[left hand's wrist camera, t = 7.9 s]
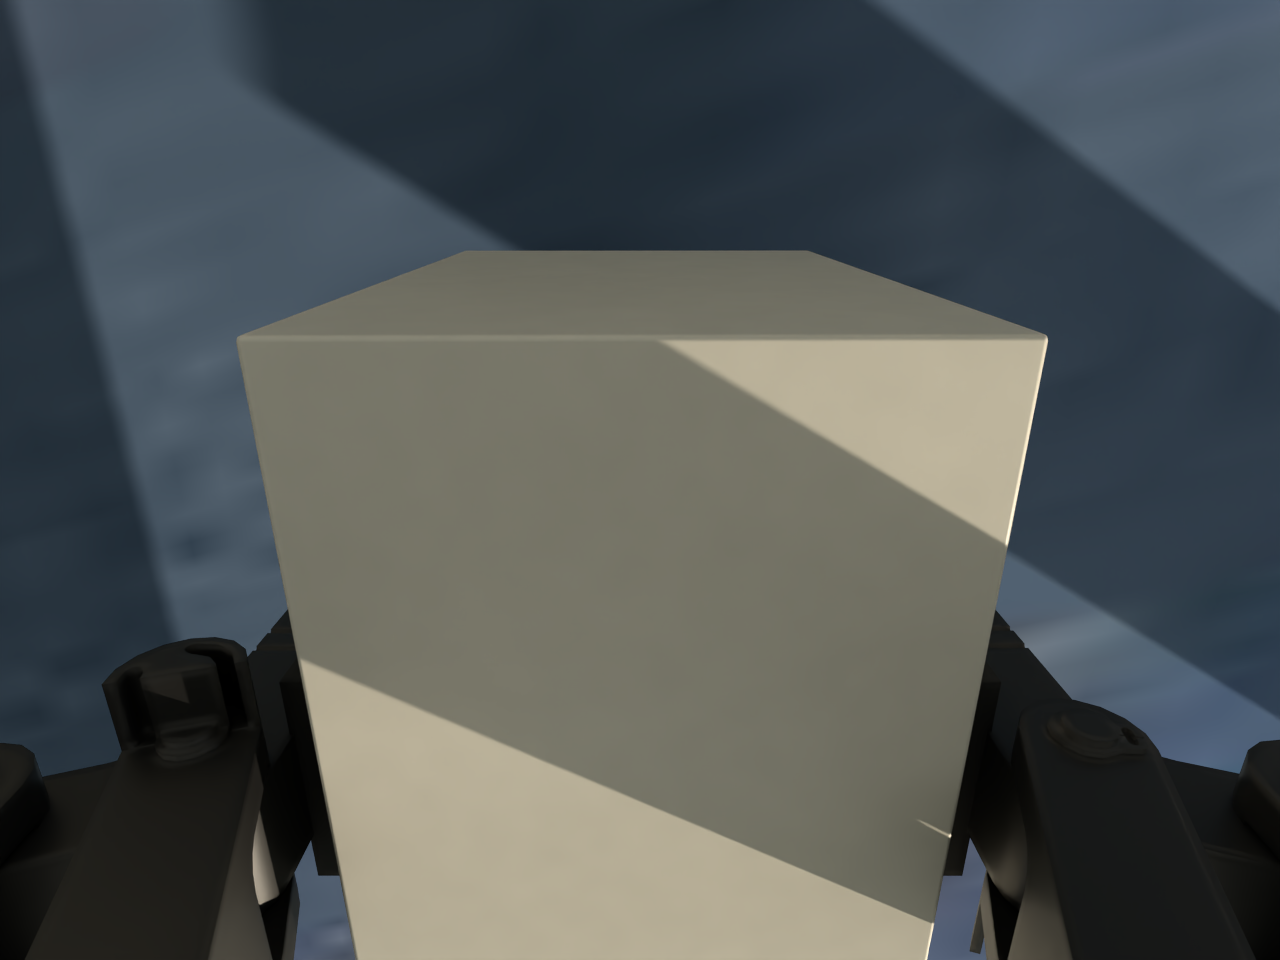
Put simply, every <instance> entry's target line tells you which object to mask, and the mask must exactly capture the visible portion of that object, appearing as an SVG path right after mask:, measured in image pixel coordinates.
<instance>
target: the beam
mask: <svg viewBox="0 0 1280 960" xmlns="http://www.w3.org/2000/svg"><path fill="white" fill-rule="evenodd" d="M236 343H237V348H238V353H239V359H240V364H241V369H242V374H243V379H244V384H245V390H246V395H247V400H248V405H249V410H250V415H251V421H252V426H253V431H254V436H255V441H256V446H257V452H258V457H259V462H260V467H261V472H262V477H263V483H264V488H265V493H266V498H267V503H268V508H269V514H270V519H271V524H272V529H273V534H274V539H275V545H276V550H277V555H278V560H279V565H280V570H281V576H282V581H283V586H284V591H285V596H286V601H287V607H288V612H289V617H290V622H291V627H292V632H293V638H294V643H295V648H296V653H297V658H298V663H299V669H300V674H301V679H302V684H303V689H304V694H305V700H306V705H307V710H308V715H309V720H310V725H311V731H312V736H313V741H314V746H315V751H316V756H317V762H318V767H319V772H320V777H321V782H322V787H323V793H324V798H325V803H326V808H327V813H328V818H329V824H330V829H331V834H332V839H333V844H334V849H335V855H336V860H337V865H338V870H339V875H340V880H341V886H342V891H343V896H344V901H345V906H346V911H347V917H348V922H349V927H350V932H351V937H352V942H353V948H354V953H355V958H356V960H927V956H928V951H929V946H930V941H931V936H932V930H933V925H934V920H935V915H936V910H937V905H938V900H939V895H940V890H941V884H942V879H943V874H944V869H945V864H946V859H947V854H948V849H949V844H950V838H951V833H952V828H953V823H954V818H955V813H956V808H957V803H958V798H959V792H960V787H961V782H962V777H963V772H964V767H965V762H966V757H967V752H968V746H969V741H970V736H971V731H972V726H973V721H974V716H975V711H976V706H977V700H978V695H979V690H980V685H981V680H982V675H983V670H984V665H985V660H986V655H987V649H988V644H989V639H990V634H991V629H992V624H993V619H994V614H995V609H996V603H997V598H998V593H999V588H1000V583H1001V578H1002V573H1003V568H1004V563H1005V557H1006V552H1007V547H1008V542H1009V537H1010V532H1011V527H1012V522H1013V517H1014V511H1015V506H1016V501H1017V496H1018V491H1019V486H1020V481H1021V476H1022V471H1023V465H1024V460H1025V455H1026V450H1027V445H1028V440H1029V435H1030V430H1031V425H1032V419H1033V414H1034V409H1035V404H1036V399H1037V394H1038V389H1039V384H1040V379H1041V373H1042V368H1043V363H1044V358H1045V353H1046V348H1047V343H1048V339H1047V336H1046V335H1045V334H1042V333H1040V332H1037V331H1034V330H1031V329H1028V328H1026V327H1023V326H1020V325H1017V324H1014V323H1011V322H1009V321H1006V320H1003V319H1000V318H997V317H994V316H991V315H989V314H986V313H983V312H980V311H977V310H974V309H972V308H969V307H966V306H963V305H960V304H957V303H955V302H952V301H949V300H946V299H943V298H940V297H938V296H935V295H932V294H929V293H926V292H923V291H921V290H918V289H915V288H912V287H909V286H906V285H904V284H901V283H898V282H895V281H892V280H889V279H887V278H884V277H881V276H878V275H875V274H872V273H870V272H867V271H864V270H861V269H858V268H855V267H853V266H850V265H847V264H844V263H841V262H838V261H836V260H833V259H830V258H827V257H824V256H821V255H819V254H816V253H813V252H810V251H464V252H461V253H459V254H456V255H453V256H451V257H448V258H445V259H443V260H440V261H437V262H435V263H432V264H429V265H427V266H424V267H421V268H419V269H416V270H413V271H411V272H408V273H405V274H403V275H400V276H397V277H395V278H392V279H389V280H387V281H384V282H381V283H379V284H376V285H373V286H371V287H368V288H365V289H363V290H360V291H357V292H355V293H352V294H349V295H347V296H344V297H341V298H339V299H336V300H333V301H331V302H328V303H325V304H323V305H320V306H317V307H315V308H312V309H309V310H307V311H304V312H301V313H299V314H296V315H293V316H291V317H288V318H285V319H283V320H280V321H277V322H275V323H272V324H269V325H267V326H264V327H261V328H259V329H256V330H253V331H251V332H248V333H245V334H243V335H241V336H238V338H237V342H236Z"/></svg>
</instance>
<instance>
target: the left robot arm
mask: <svg viewBox="0 0 1280 960" xmlns="http://www.w3.org/2000/svg"><path fill="white" fill-rule="evenodd" d="M102 687H103V690H104V694H105V697H106V700H107V704H108V707H109V710H110V714H111V717H112V720H113V723H114V727H115V730H116V733H117V737H118V740H119V743H120V747H121V750H122V752H121V754H120V756H119V758H118V760H117V761H114V762H110V763H107V764H102V765H97V766H93V767H88V768H83V769H78V770H73V771H69V772H64V773H59V774H54V775H49V776H44V777H42V775H41V772H40V770H39V767H38V764H37V761H36V758H35V755H34V753H32V752H31V751H30V750H28V749H27V748H25V747H24V746H22V745H17V744H6V743H0V960H294V951H295V942H296V933H297V925H298V916H299V907H300V900H299V894H298V887H297V883H296V878H295V874H294V872H295V870H296V868H297V866H298V864H299V862H300V860H301V858H302V856H303V854H304V852H305V851H306V849H307V847H308V845H309V843H310V841H311V842H312V847H313V852H314V856H315V861H316V866H317V871H318V876H340V875H339V870H338V865H337V860H336V855H335V849H334V844H333V839H332V834H331V829H330V824H329V818H328V813H327V808H326V803H325V798H324V793H323V787H322V782H321V777H320V772H319V767H318V762H317V756H316V751H315V746H314V741H313V736H312V731H311V725H310V720H309V715H308V710H307V705H306V700H305V694H304V689H303V684H302V679H301V674H300V669H299V663H298V658H297V653H296V648H295V643H294V638H293V632H292V627H291V622H290V617H289V612H288V610H287V611H286V612H285V613H284V615H283V616H282V617H281V618H280V619H279V620H278V622H277V623H276V624H275V625H274V626H273V628H272V629H271V633H267V635H266V636H265V637H264V638H263V639H262V641H261V642H260V643H259V644H258V645H257V650H256V651H252V652H251V654H250V655H249V656H248V657H247V653H246V649H245V648H244V647H242V646H241V645H239V644H238V643H237V642H235V641H233V640H228V639H222V638H217V637H210V638H193V639H187V640H183V641H178V642H174V643H170V644H166V645H162V646H160V647H157V648H155V649H152V650H150V651H147V652H145V653H143V654H140V655H138V656H136V657H134V658H133V659H131V660H130V661H128V662H126V663H125V664H123V665H122V666H120V667H118V668H117V669H115V670H114V671H113V673H112V674H111V675H110V676H109V677H108V678H107V679H106V680H105V681H104V683H103V684H102ZM970 838H971V840H972V842H973V844H974V846H975V848H976V850H977V852H978V854H979V856H980V857H981V859H982V861H983V863H984V865H985V867H986V874H985V878H984V883H983V887H982V892H981V896H980V901H979V906H978V910H977V915H976V919H975V924H974V929H973V933H972V939H971V945H970V951H971V952H975V953H978V954H980V952H981V948H982V943H983V939H984V940H985V949H986V958H987V960H1280V740H1273V741H1262V742H1259V743H1258V744H1256V745H1255V746H1253V747H1252V748H1250V749H1249V750H1248V752H1247V755H1246V757H1245V760H1244V763H1243V766H1242V769H1241V772H1240V774H1238V773H1233V772H1228V771H1223V770H1218V769H1213V768H1209V767H1204V766H1199V765H1194V764H1189V763H1184V762H1180V761H1175V760H1171V759H1168V758H1164V757H1161V755H1160V753H1159V750H1158V749H1157V748H1156V746H1155V745H1154V744H1153V742H1152V741H1151V740H1150V739H1149V737H1148V736H1147V735H1146V733H1144V732H1143V731H1141V730H1140V729H1139V728H1137V727H1136V726H1135V725H1133V724H1132V723H1131V722H1129V721H1128V720H1126V719H1125V718H1123V717H1121V716H1119V715H1116V714H1114V713H1112V712H1110V711H1108V710H1106V709H1104V708H1101V707H1099V706H1095V705H1091V704H1088V703H1084V702H1080V701H1076V700H1072V699H1071V698H1070V697H1069V695H1068V694H1067V693H1066V692H1065V691H1064V690H1063V688H1062V687H1061V686H1060V685H1059V684H1058V683H1057V681H1056V680H1055V679H1054V678H1053V677H1052V675H1051V674H1050V673H1049V672H1048V671H1047V670H1046V668H1045V667H1044V666H1043V665H1042V664H1041V663H1040V661H1039V660H1038V659H1037V658H1036V657H1035V656H1034V654H1033V653H1032V652H1031V651H1030V650H1029V649H1028V648H1025V647H1024V643H1023V641H1022V640H1021V639H1020V638H1019V637H1018V636H1017V634H1016V633H1015V632H1014V631H1010V626H1009V625H1008V624H1007V623H1006V622H1005V620H1004V619H1003V618H1002V617H1001V616H1000V614H999V613H998V612H997V611H996V610H995V614H994V619H993V624H992V629H991V634H990V639H989V644H988V649H987V655H986V660H985V665H984V670H983V675H982V680H981V685H980V690H979V695H978V700H977V706H976V711H975V716H974V721H973V726H972V731H971V736H970V741H969V746H968V752H967V757H966V762H965V767H964V772H963V777H962V782H961V787H960V792H959V798H958V803H957V808H956V813H955V818H954V823H953V828H952V833H951V838H950V844H949V849H948V854H947V859H946V864H945V869H944V874H943V876H962V874H963V869H964V864H965V859H966V854H967V849H968V844H969V839H970Z"/></svg>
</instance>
